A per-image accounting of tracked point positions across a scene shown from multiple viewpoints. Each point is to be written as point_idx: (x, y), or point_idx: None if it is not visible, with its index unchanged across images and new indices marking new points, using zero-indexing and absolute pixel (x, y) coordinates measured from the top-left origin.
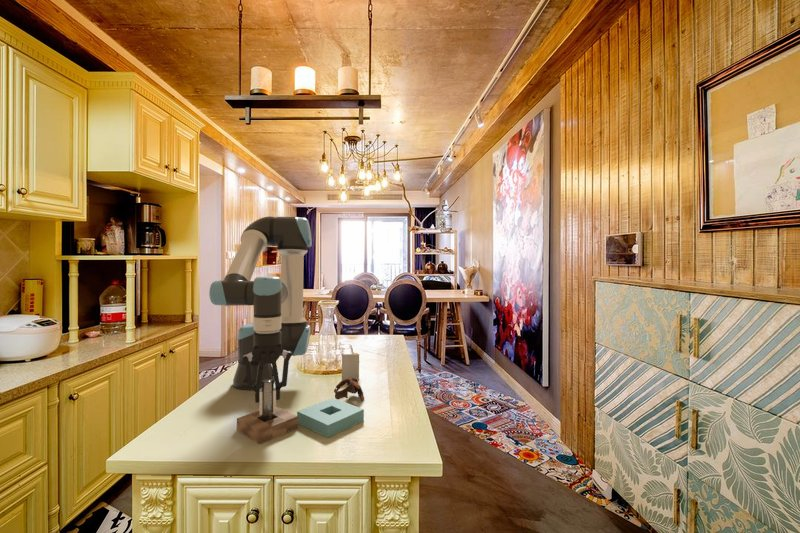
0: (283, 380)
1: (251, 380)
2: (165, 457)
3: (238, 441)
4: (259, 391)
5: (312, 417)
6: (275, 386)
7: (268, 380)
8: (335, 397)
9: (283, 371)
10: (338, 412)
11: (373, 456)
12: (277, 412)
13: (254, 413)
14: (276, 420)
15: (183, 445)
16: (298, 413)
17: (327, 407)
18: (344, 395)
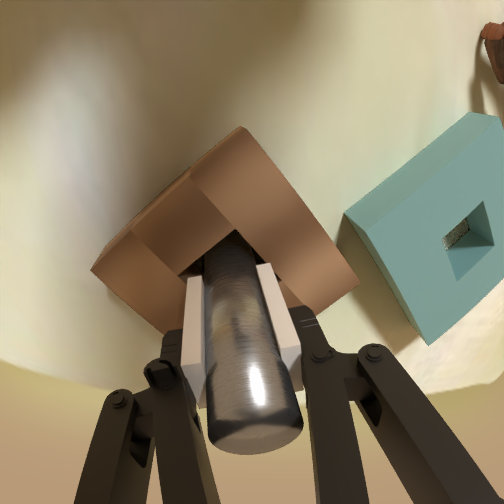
0: (372, 422)
1: (145, 481)
2: (10, 361)
3: (143, 324)
4: (195, 400)
5: (407, 296)
6: (304, 375)
7: (260, 424)
8: (491, 58)
9: (399, 471)
10: (481, 263)
11: (448, 381)
12: (274, 230)
13: (155, 227)
14: None
15: (6, 317)
16: (366, 236)
17: (469, 213)
18: None
